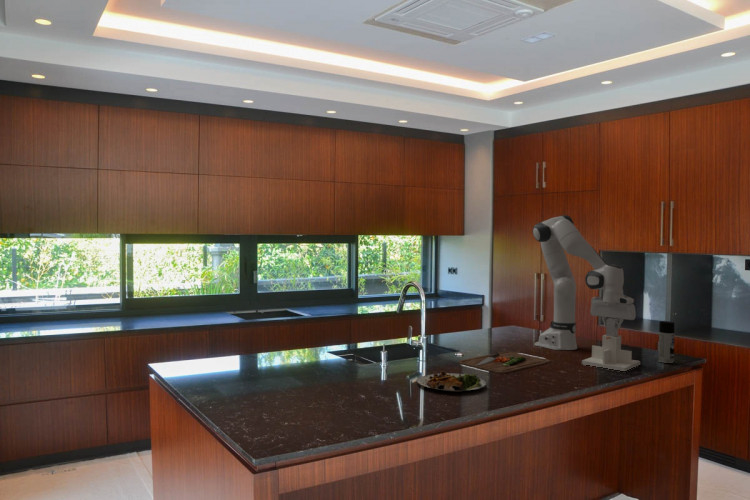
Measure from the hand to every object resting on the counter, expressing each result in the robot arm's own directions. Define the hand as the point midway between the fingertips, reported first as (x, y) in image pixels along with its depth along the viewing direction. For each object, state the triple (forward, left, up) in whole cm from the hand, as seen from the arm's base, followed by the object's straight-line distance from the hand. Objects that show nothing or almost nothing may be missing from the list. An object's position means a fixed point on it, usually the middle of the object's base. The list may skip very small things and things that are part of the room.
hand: (612, 327), depth 273 cm
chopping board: (-38, -33, -19) cm, 54 cm away
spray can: (+17, +25, -18) cm, 35 cm away
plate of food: (-32, -85, -19) cm, 93 cm away
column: (0, 0, -14) cm, 14 cm away
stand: (0, 0, -18) cm, 18 cm away
